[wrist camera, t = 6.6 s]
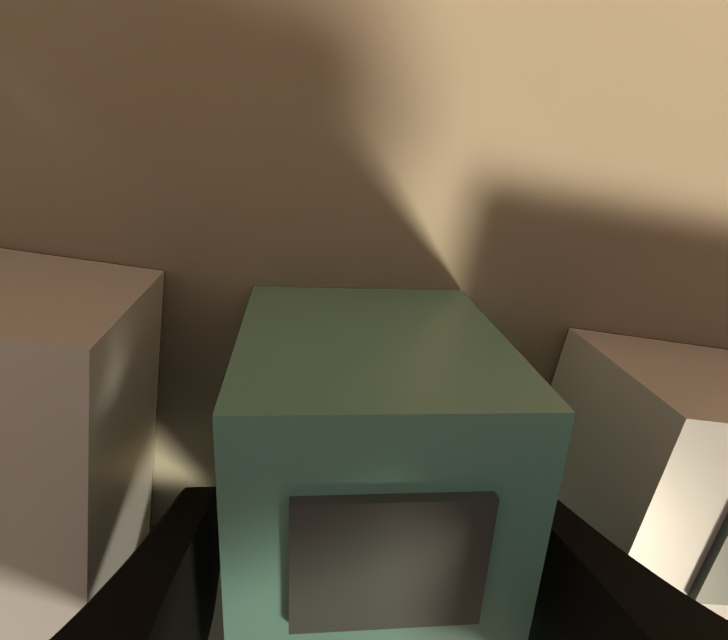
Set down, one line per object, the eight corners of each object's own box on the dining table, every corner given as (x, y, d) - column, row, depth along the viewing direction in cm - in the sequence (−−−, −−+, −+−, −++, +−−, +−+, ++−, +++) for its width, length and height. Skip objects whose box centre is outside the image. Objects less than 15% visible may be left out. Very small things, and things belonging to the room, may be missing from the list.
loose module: (460, 289, 13) (582, 420, 7) (433, 519, 16) (509, 756, 10) (253, 285, 13) (209, 423, 7) (259, 525, 15) (229, 779, 9)
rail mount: (832, 364, 15) (1052, 464, 11) (695, 634, 18) (818, 796, 14) (-245, 214, 11) (-616, 276, 6) (-170, 596, 14) (-382, 808, 10)
